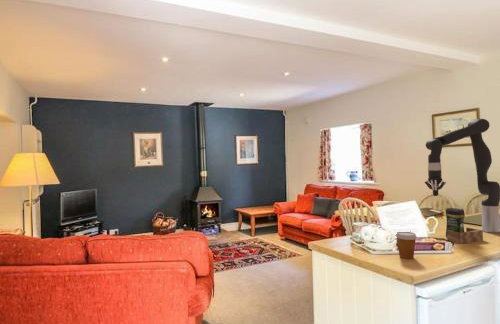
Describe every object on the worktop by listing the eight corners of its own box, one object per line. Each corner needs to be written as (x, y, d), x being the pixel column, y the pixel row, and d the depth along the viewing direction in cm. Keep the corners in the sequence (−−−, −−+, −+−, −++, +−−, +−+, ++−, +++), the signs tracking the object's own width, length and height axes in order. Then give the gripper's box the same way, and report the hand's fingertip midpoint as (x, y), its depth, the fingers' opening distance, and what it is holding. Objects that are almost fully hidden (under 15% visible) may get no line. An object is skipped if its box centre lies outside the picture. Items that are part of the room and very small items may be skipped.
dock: (468, 237, 199) (467, 227, 199) (482, 240, 191) (482, 230, 191) (447, 240, 193) (446, 230, 193) (461, 243, 184) (461, 233, 184)
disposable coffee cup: (416, 261, 155) (415, 236, 155) (394, 258, 160) (394, 234, 160) (417, 256, 164) (417, 232, 163) (397, 253, 169) (397, 230, 168)
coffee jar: (443, 237, 199) (442, 207, 199) (451, 236, 203) (450, 206, 203) (459, 241, 191) (459, 209, 191) (467, 239, 194) (466, 208, 194)
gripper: (448, 169, 208) (449, 196, 209) (427, 169, 219) (428, 194, 219) (442, 169, 204) (443, 197, 204) (421, 169, 215) (422, 195, 215)
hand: (435, 195), depth 212 cm, fingers closed
